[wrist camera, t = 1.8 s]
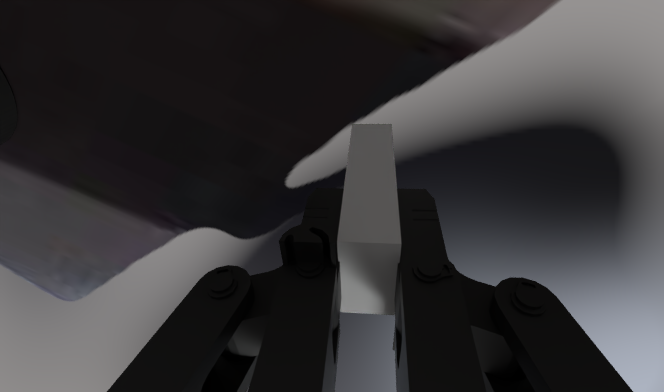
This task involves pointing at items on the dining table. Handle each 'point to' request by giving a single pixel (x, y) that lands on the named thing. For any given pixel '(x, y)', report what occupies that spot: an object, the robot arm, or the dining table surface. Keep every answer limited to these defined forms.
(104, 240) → the dining table surface
